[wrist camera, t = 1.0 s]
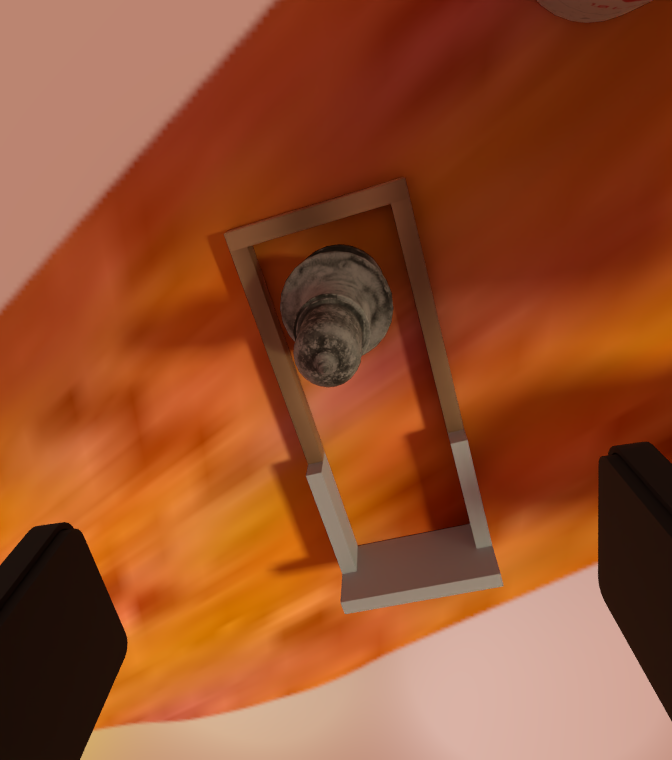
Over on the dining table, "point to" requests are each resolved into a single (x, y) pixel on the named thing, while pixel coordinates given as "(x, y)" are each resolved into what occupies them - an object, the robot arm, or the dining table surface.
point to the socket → (409, 547)
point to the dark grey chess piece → (335, 312)
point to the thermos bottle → (591, 8)
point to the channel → (268, 320)
